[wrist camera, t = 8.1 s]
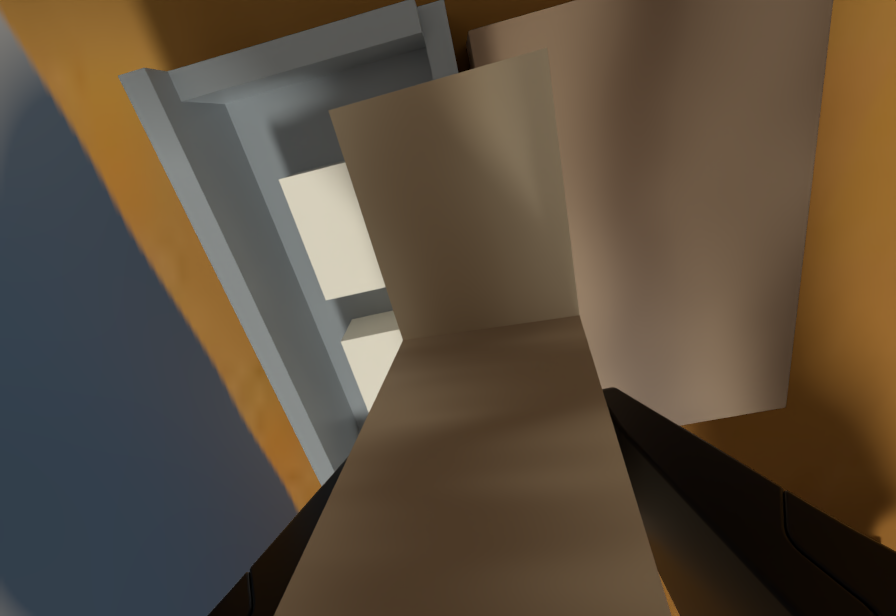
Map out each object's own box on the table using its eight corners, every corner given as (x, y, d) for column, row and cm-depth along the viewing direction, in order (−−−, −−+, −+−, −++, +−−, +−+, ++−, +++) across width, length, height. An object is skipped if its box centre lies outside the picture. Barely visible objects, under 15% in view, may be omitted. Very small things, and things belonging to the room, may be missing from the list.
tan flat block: (774, -43, 13) (842, -76, 11) (747, 373, 20) (785, 407, 17) (465, 44, 14) (468, 31, 12) (535, 412, 21) (545, 448, 18)
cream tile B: (451, 297, 18) (451, 318, 16) (474, 383, 20) (476, 410, 18) (351, 319, 18) (340, 341, 16) (382, 401, 20) (375, 429, 18)
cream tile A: (414, 142, 15) (409, 146, 13) (443, 257, 17) (442, 274, 15) (298, 172, 16) (278, 179, 14) (339, 281, 17) (325, 300, 16)
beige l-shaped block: (537, 62, 10) (659, -145, 2) (591, 476, 15) (684, 920, 7) (375, 108, 10) (-79, 129, 2) (480, 482, 16) (446, 880, 8)
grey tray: (445, 14, 14) (441, -22, 10) (528, 429, 21) (544, 494, 18) (200, 86, 15) (118, 75, 11) (360, 459, 22) (341, 526, 18)
